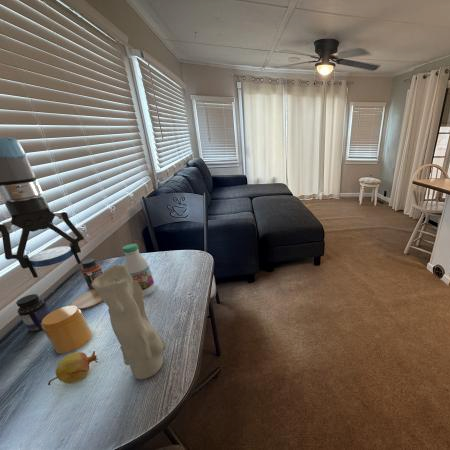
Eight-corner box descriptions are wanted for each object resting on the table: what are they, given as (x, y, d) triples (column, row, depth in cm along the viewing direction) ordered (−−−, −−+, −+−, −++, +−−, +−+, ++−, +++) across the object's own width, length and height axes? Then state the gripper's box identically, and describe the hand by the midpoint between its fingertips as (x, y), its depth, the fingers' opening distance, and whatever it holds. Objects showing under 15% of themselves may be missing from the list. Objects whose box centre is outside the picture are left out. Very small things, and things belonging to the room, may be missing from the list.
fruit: (40, 386, 54) (96, 358, 60) (39, 361, 58) (91, 337, 64) (53, 399, 58) (104, 371, 64) (51, 375, 62) (99, 351, 68)
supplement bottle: (99, 288, 97) (88, 265, 93) (84, 289, 97) (74, 265, 93) (110, 280, 102) (101, 257, 98) (96, 280, 103) (86, 257, 98)
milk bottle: (130, 291, 95) (114, 246, 87) (152, 282, 100) (138, 239, 92) (136, 300, 90) (119, 253, 82) (158, 290, 95) (144, 245, 87)
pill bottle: (55, 315, 83) (41, 289, 79) (55, 325, 79) (40, 298, 75) (29, 325, 79) (13, 298, 75) (28, 335, 75) (11, 308, 71)
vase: (143, 354, 68) (107, 263, 56) (174, 352, 68) (144, 260, 57) (124, 384, 60) (79, 285, 48) (159, 381, 60) (122, 282, 49)
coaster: (62, 310, 86) (61, 308, 86) (89, 289, 97) (89, 287, 97) (95, 309, 86) (94, 308, 85) (118, 288, 97) (118, 287, 96)
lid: (22, 267, 68) (19, 261, 67) (53, 251, 76) (51, 246, 76) (53, 266, 68) (50, 261, 67) (81, 251, 76) (79, 246, 75)
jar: (47, 353, 69) (30, 326, 65) (73, 330, 77) (59, 304, 73) (75, 353, 69) (60, 325, 65) (98, 330, 76) (86, 304, 72)
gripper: (-44, 211, 55) (4, 291, 63) (78, 191, 70) (104, 258, 78) (-40, 205, 60) (5, 280, 68) (74, 188, 75) (99, 251, 83)
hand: (58, 268), depth 73 cm, fingers closed on lid, 9 cm apart
